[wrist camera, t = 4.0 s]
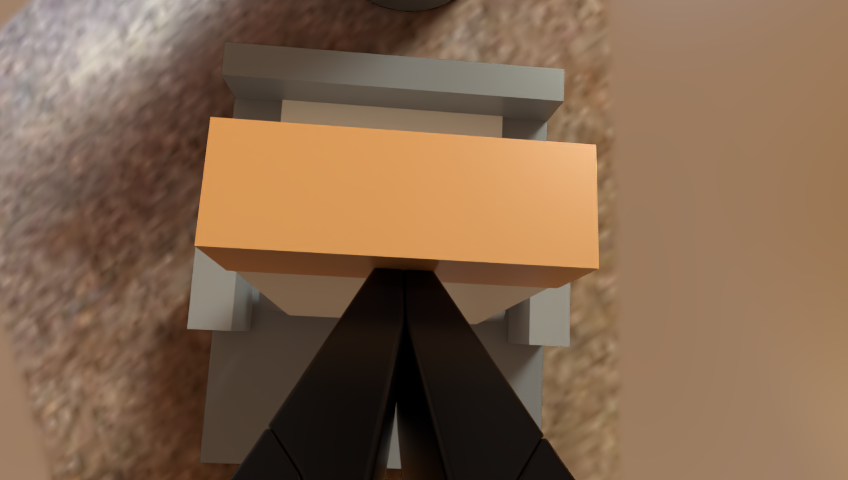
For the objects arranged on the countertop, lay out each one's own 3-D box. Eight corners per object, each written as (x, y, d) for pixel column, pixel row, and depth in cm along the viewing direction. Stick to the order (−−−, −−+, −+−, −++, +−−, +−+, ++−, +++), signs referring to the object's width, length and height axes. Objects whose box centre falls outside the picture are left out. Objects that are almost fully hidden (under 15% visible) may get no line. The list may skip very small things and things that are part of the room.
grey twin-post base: (530, 464, 20) (567, 495, 16) (210, 454, 19) (171, 484, 15) (537, 105, 22) (572, 57, 18) (245, 82, 21) (218, 28, 17)
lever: (497, 332, 18) (662, 272, 8) (263, 321, 18) (123, 241, 8) (497, 275, 19) (656, 149, 8) (269, 262, 18) (142, 112, 8)
